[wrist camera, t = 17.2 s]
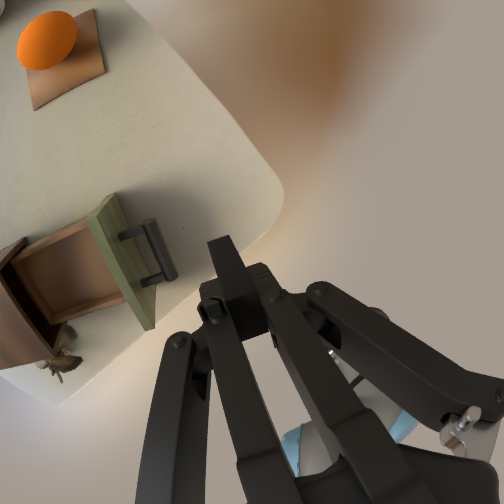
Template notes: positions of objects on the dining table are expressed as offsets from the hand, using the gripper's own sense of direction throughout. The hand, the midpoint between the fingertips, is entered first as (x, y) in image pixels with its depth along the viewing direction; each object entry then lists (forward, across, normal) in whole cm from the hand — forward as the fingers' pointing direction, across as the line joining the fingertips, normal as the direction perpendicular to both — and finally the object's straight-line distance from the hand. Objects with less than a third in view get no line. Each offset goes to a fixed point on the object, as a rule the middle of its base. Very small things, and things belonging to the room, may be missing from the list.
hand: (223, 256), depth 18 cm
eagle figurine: (+16, -30, -14) cm, 37 cm away
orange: (+15, -12, +24) cm, 30 cm away
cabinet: (+16, -34, -2) cm, 37 cm away
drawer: (+16, -16, -2) cm, 22 cm away
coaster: (+16, -12, +24) cm, 30 cm away
